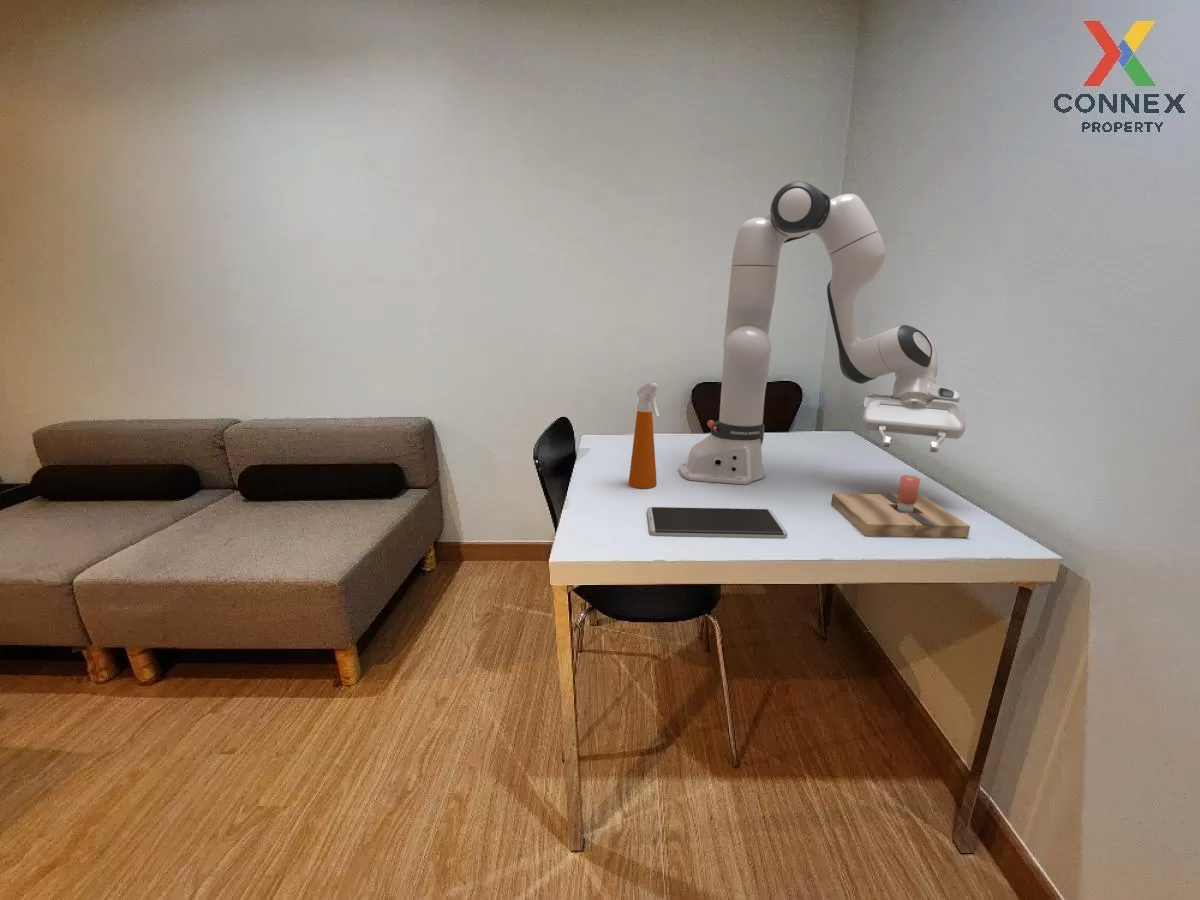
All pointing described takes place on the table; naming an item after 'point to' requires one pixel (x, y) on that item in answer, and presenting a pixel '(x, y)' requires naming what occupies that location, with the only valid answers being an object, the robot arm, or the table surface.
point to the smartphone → (714, 522)
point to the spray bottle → (644, 440)
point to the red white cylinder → (907, 493)
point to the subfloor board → (898, 516)
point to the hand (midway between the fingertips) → (909, 448)
